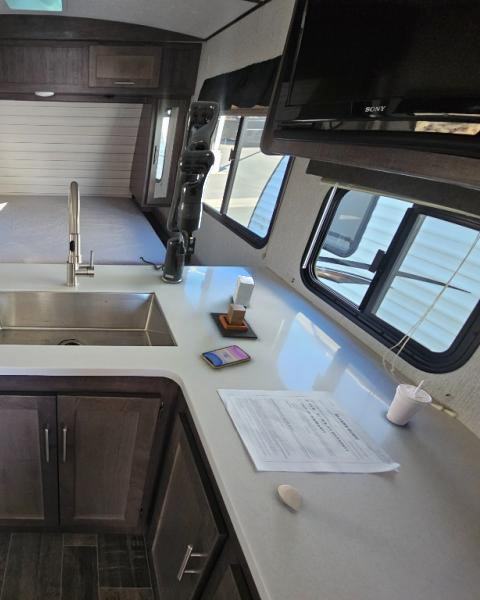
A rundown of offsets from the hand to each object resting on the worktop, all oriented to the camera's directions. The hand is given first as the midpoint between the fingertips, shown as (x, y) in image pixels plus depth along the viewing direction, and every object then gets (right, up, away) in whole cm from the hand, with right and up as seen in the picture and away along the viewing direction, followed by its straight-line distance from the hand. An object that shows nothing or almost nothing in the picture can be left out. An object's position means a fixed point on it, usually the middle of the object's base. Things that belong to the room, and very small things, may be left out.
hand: (184, 258), depth 117 cm
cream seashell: (+5, -57, -52) cm, 77 cm away
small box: (+32, -16, +22) cm, 42 cm away
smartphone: (+10, -34, -12) cm, 38 cm away
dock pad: (+20, -25, +5) cm, 33 cm away
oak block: (+20, -25, +5) cm, 32 cm away
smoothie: (+45, -47, -33) cm, 73 cm away
